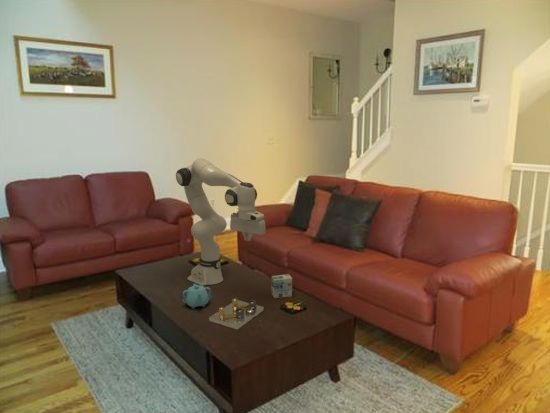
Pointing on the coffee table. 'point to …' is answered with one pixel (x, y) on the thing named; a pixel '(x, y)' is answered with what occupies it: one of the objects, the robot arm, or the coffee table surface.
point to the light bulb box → (281, 286)
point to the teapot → (197, 296)
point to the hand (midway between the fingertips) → (247, 240)
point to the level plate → (236, 321)
